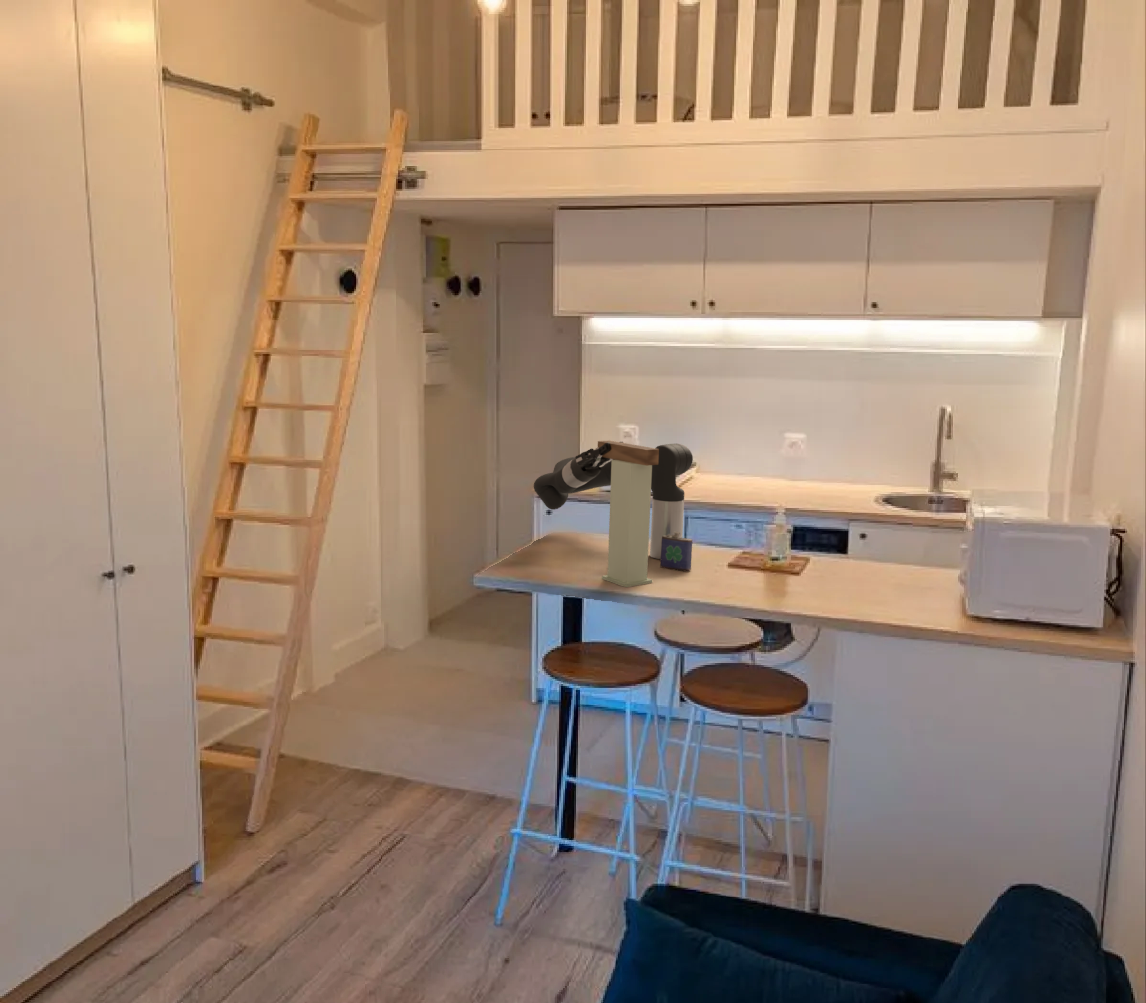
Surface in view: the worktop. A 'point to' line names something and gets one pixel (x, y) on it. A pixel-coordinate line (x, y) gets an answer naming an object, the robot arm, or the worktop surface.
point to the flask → (676, 552)
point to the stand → (629, 524)
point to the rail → (631, 453)
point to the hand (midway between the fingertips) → (616, 445)
